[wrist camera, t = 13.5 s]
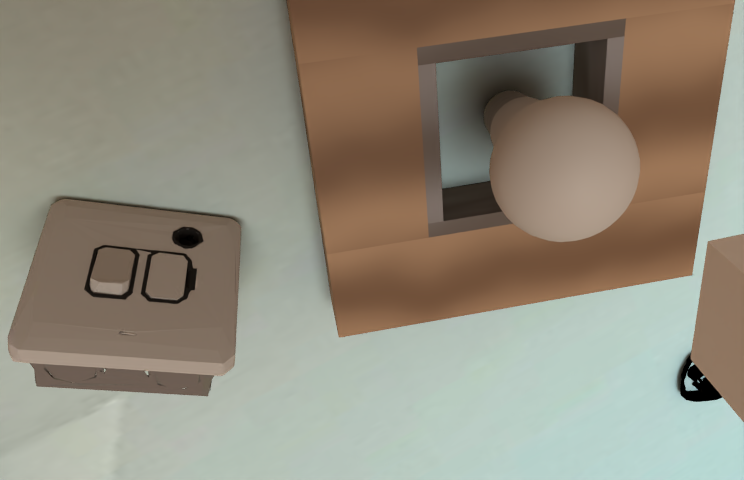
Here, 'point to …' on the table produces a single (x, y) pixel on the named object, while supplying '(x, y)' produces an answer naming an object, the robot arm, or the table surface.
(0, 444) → the table surface
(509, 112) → the lightbulb
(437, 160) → the socket base
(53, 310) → the electrical switch
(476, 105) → the table surface
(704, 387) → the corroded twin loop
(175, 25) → the table surface
